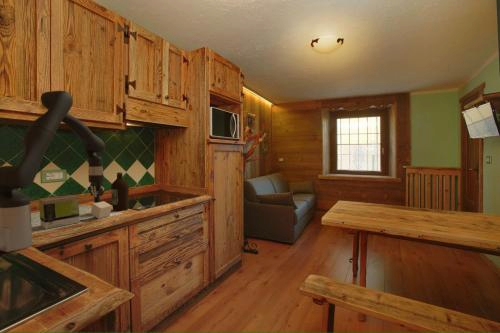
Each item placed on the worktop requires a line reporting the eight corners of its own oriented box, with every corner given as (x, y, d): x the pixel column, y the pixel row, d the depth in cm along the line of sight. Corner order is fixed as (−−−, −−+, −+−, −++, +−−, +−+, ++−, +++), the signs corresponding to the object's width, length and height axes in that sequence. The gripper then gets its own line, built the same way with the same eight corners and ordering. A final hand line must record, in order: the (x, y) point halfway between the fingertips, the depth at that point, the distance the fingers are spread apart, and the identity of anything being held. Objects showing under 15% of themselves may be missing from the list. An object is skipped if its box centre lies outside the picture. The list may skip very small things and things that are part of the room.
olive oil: (123, 207, 169) (122, 171, 168) (132, 209, 164) (131, 172, 162) (108, 210, 160) (107, 172, 159) (117, 212, 155) (116, 173, 153)
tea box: (74, 219, 138) (73, 194, 137) (80, 223, 132) (78, 196, 131) (40, 225, 127) (38, 198, 126) (44, 229, 120) (42, 200, 119)
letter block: (98, 219, 139) (100, 208, 138) (90, 214, 141) (92, 203, 140) (109, 216, 145) (111, 205, 144) (101, 211, 148) (103, 201, 147)
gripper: (82, 174, 142) (83, 203, 143) (97, 175, 137) (98, 205, 138) (94, 173, 149) (95, 200, 150) (109, 174, 144) (110, 202, 145)
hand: (97, 202), depth 144 cm, fingers closed
